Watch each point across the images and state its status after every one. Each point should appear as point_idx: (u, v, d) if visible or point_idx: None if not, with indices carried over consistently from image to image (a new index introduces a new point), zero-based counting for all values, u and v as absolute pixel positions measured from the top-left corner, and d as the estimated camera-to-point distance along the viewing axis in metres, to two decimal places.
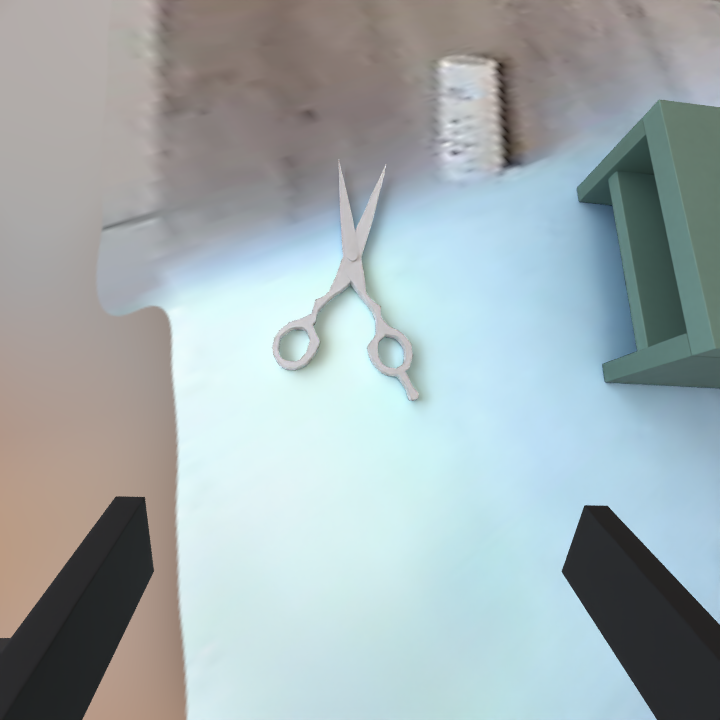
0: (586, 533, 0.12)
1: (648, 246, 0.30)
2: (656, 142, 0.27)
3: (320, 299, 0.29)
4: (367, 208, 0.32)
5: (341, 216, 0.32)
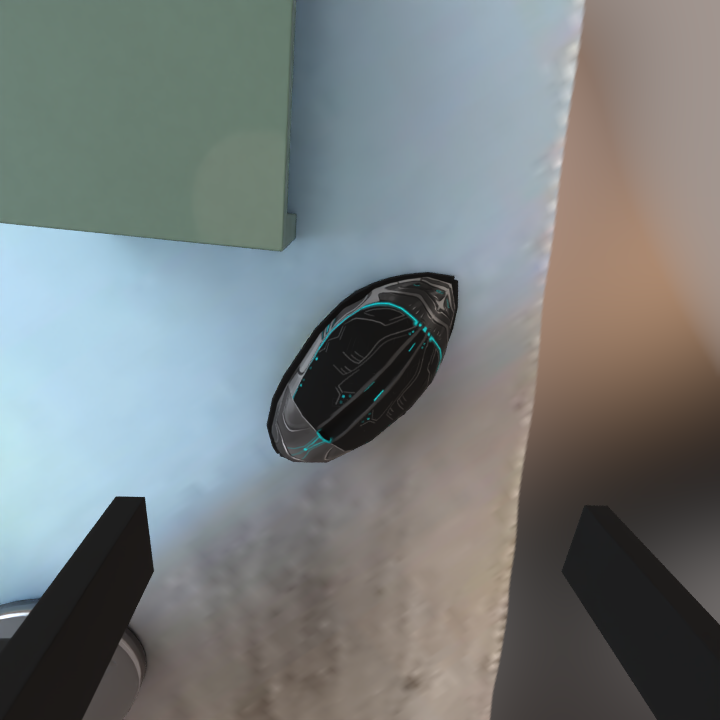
0: (586, 533, 0.12)
1: None
2: None
3: None
4: None
5: None
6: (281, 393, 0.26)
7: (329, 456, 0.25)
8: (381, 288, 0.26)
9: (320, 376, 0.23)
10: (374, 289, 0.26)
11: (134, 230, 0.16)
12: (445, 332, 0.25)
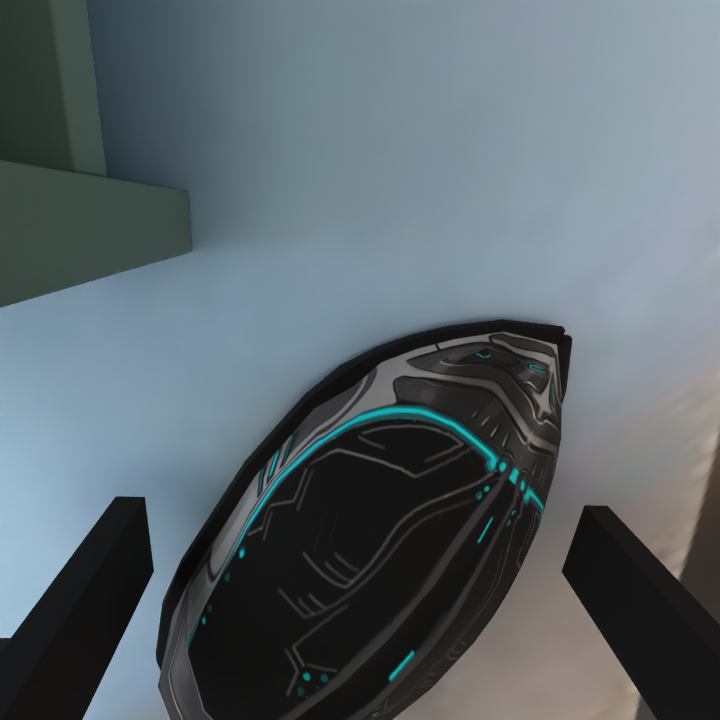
0: (586, 533, 0.12)
1: None
2: None
3: None
4: None
5: None
6: (178, 599, 0.12)
7: None
8: (399, 362, 0.11)
9: (247, 616, 0.09)
10: (381, 363, 0.11)
11: None
12: (551, 463, 0.11)
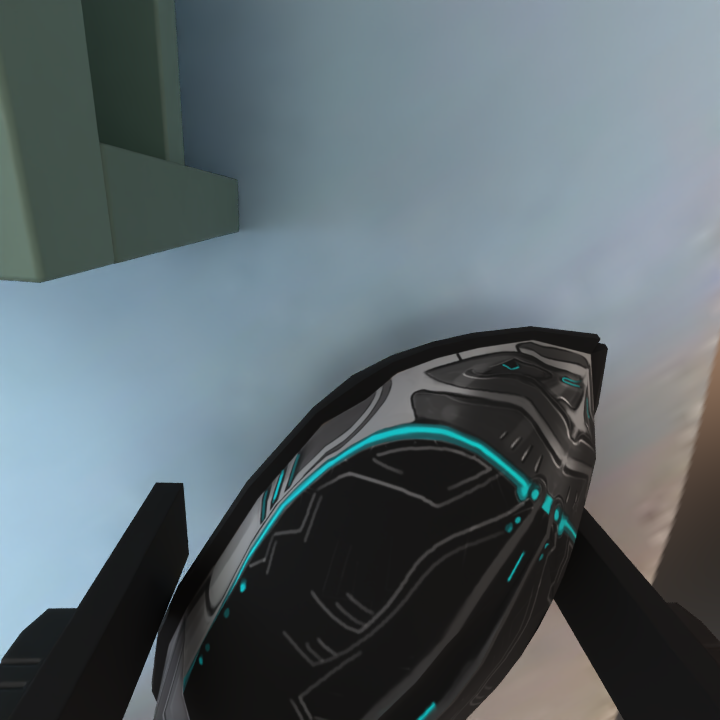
0: None
1: None
2: None
3: None
4: None
5: None
6: (174, 628, 0.11)
7: None
8: (416, 373, 0.10)
9: (248, 660, 0.08)
10: (397, 375, 0.10)
11: None
12: (585, 487, 0.10)
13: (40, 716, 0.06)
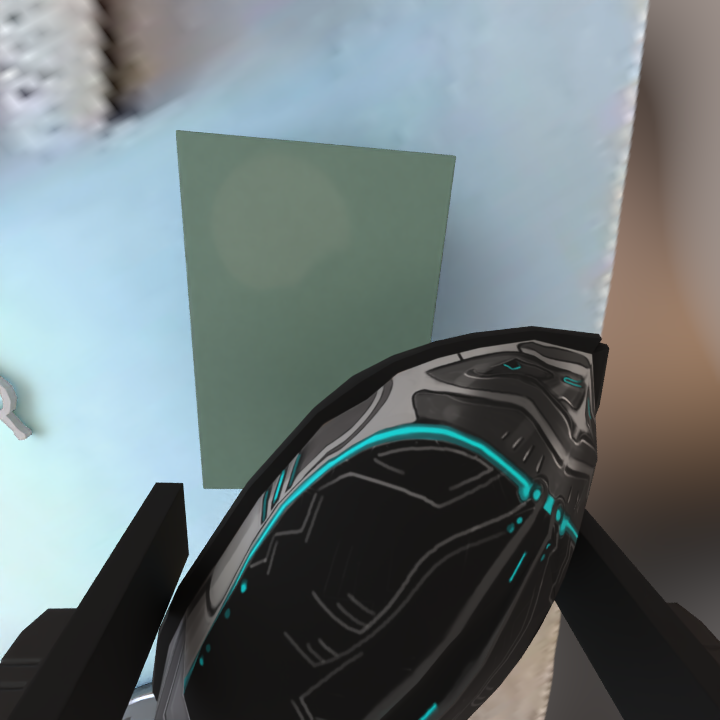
0: None
1: None
2: None
3: None
4: None
5: None
6: (174, 628, 0.11)
7: None
8: (417, 373, 0.10)
9: (249, 661, 0.08)
10: (398, 374, 0.10)
11: None
12: (587, 487, 0.10)
13: (40, 716, 0.06)
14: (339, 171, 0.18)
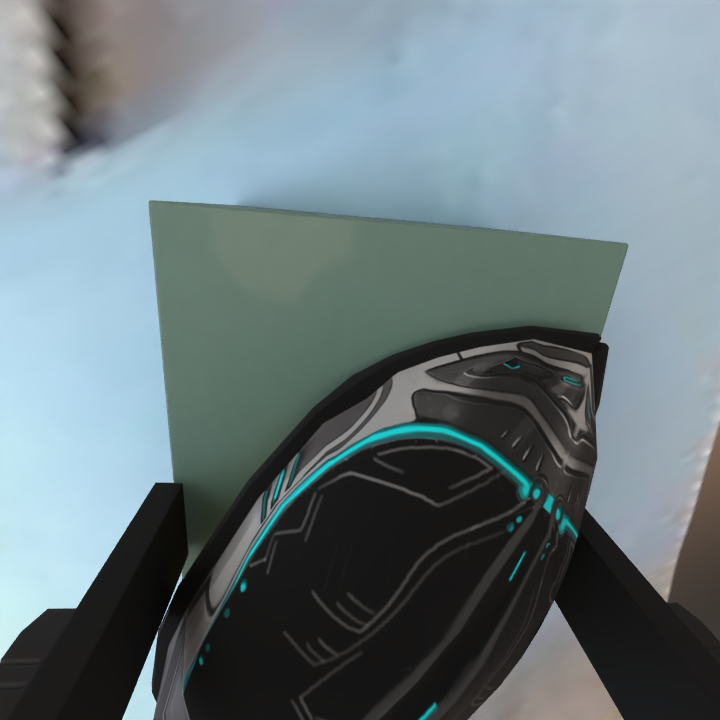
0: None
1: None
2: None
3: None
4: None
5: None
6: (174, 628, 0.11)
7: None
8: (417, 372, 0.10)
9: (248, 660, 0.08)
10: (397, 374, 0.10)
11: None
12: (586, 486, 0.10)
13: (39, 716, 0.06)
14: (431, 269, 0.10)
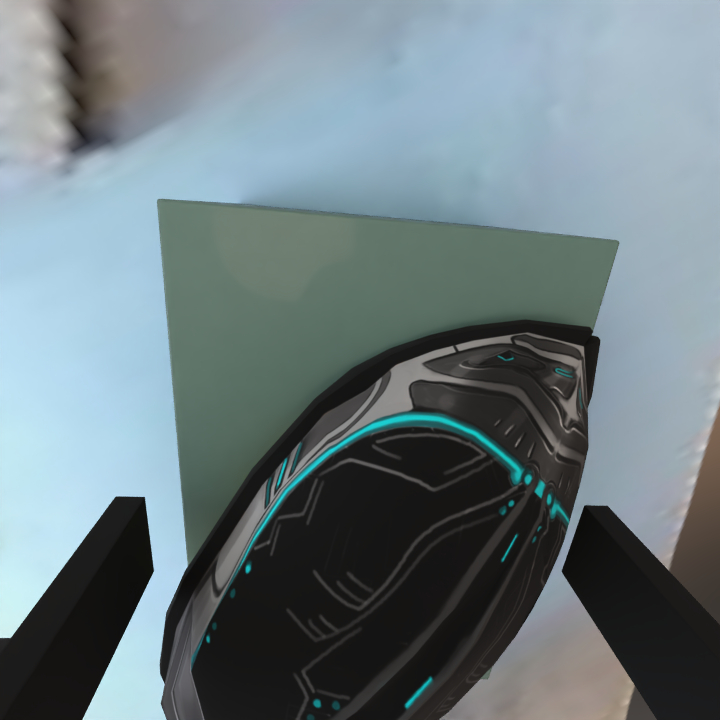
0: (586, 533, 0.12)
1: None
2: None
3: None
4: None
5: None
6: (182, 611, 0.11)
7: None
8: (415, 365, 0.10)
9: (253, 636, 0.08)
10: (396, 366, 0.11)
11: None
12: (578, 474, 0.10)
13: None
14: (429, 265, 0.11)
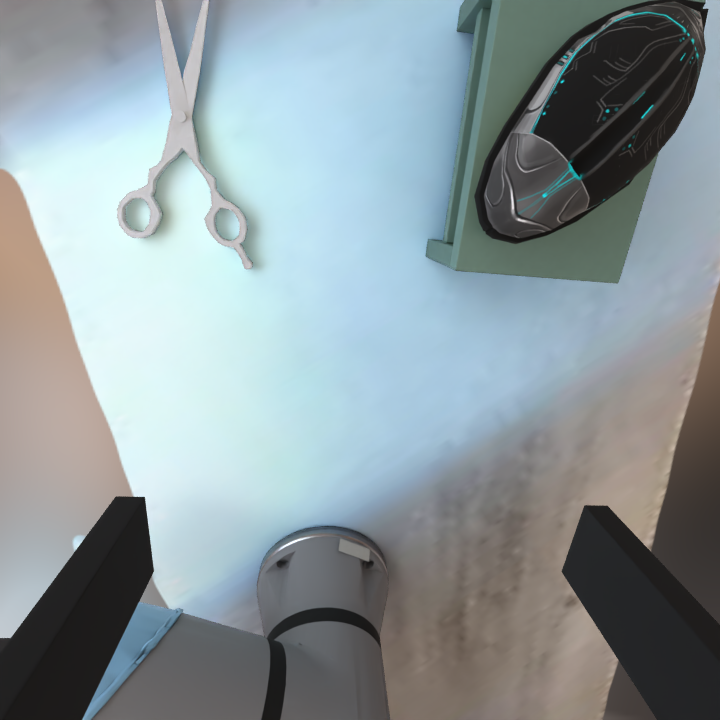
0: (586, 533, 0.12)
1: None
2: (495, 0, 0.23)
3: (154, 168, 0.31)
4: (194, 44, 0.29)
5: (163, 58, 0.29)
6: (500, 147, 0.23)
7: (566, 209, 0.22)
8: (623, 13, 0.22)
9: (575, 93, 0.20)
10: (611, 17, 0.22)
11: (541, 274, 0.28)
12: (701, 61, 0.22)
13: None
14: None
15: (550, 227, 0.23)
